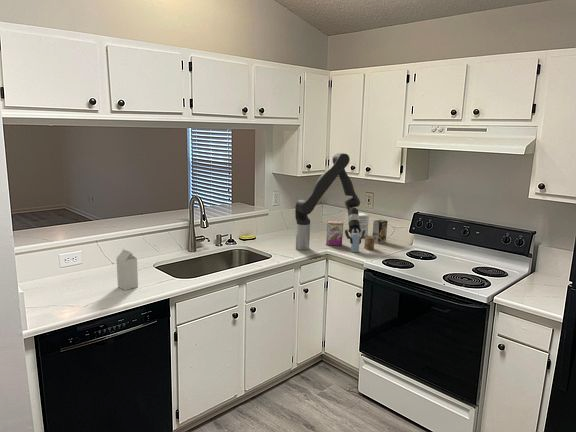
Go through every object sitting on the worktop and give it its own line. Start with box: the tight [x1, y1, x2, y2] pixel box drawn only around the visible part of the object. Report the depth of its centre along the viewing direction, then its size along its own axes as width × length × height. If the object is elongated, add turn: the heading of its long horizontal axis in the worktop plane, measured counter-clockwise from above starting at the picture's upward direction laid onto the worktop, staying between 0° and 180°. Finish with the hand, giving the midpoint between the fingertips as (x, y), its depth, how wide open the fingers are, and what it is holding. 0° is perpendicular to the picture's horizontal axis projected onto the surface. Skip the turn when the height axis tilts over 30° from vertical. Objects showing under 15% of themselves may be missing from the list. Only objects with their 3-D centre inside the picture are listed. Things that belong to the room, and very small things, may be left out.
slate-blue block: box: [350, 233, 360, 253], centre depth 297 cm, size 4×4×12 cm
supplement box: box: [358, 212, 370, 238], centre depth 343 cm, size 10×9×17 cm
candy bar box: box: [325, 220, 344, 247], centre depth 313 cm, size 11×5×16 cm, turn 84°
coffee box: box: [371, 219, 388, 245], centre depth 324 cm, size 9×6×16 cm
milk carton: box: [116, 248, 139, 291], centre depth 221 cm, size 7×7×19 cm
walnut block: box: [364, 236, 375, 251], centre depth 306 cm, size 5×5×8 cm
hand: (355, 243), depth 296 cm, fingers closed on slate-blue block, 4 cm apart
